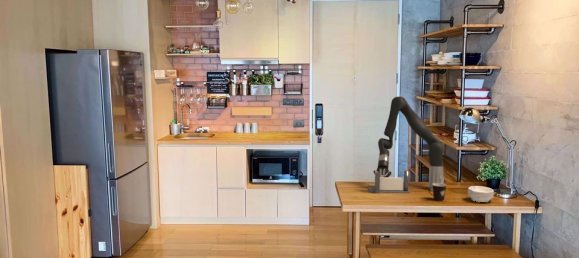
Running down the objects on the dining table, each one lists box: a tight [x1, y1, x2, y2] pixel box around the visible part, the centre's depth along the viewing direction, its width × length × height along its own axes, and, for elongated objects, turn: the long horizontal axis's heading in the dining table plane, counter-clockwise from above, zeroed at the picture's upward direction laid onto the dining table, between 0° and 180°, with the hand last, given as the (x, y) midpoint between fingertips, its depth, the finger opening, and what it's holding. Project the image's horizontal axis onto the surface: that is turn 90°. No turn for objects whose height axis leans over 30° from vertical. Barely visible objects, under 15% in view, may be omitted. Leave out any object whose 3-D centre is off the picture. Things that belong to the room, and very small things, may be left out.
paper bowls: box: [467, 185, 495, 203], centre depth 292 cm, size 15×15×8 cm
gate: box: [375, 171, 404, 190], centre depth 314 cm, size 19×2×12 cm, turn 86°
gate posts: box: [374, 169, 410, 194], centre depth 312 cm, size 23×3×15 cm, turn 95°
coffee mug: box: [428, 183, 447, 202], centre depth 294 cm, size 12×9×10 cm
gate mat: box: [367, 184, 411, 194], centre depth 321 cm, size 27×17×1 cm, turn 87°
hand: (381, 183), depth 316 cm, fingers closed
